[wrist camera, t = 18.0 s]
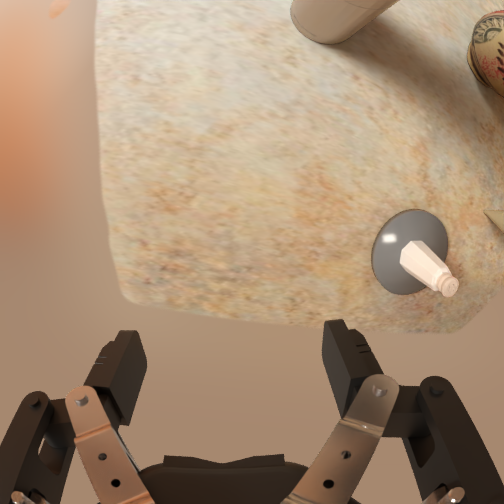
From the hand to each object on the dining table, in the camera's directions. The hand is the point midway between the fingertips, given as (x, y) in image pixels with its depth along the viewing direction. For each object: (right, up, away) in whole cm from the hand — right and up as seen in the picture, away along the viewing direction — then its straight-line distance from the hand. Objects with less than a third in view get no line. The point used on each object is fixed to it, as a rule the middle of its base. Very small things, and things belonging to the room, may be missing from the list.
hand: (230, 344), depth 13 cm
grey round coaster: (+26, +4, +32) cm, 41 cm away
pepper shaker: (+26, +3, +31) cm, 40 cm away
